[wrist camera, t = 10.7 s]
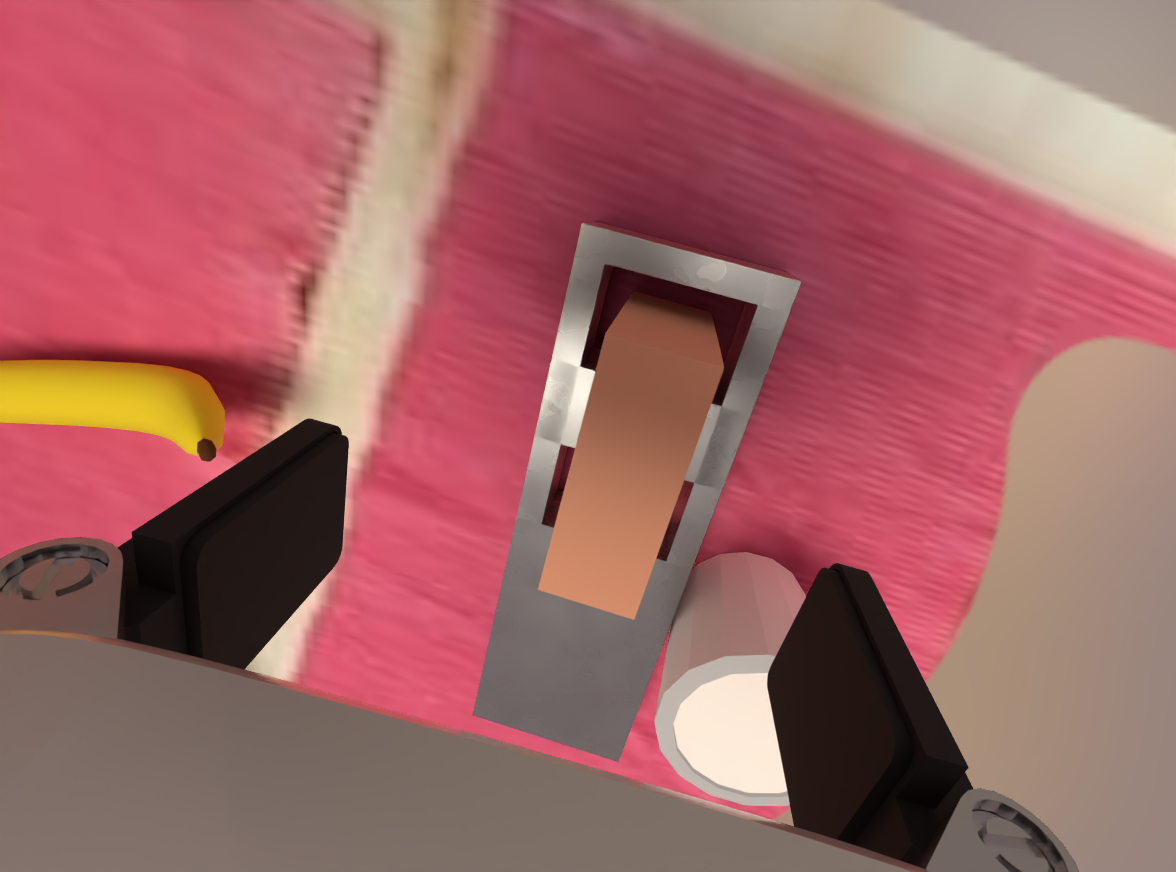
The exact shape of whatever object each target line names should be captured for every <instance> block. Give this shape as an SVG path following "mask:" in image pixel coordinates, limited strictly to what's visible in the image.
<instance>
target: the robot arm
mask: <svg viewBox="0 0 1176 872" xmlns="http://www.w3.org/2000/svg"><path fill="white" fill-rule="evenodd" d="M348 448H349V441H348V438H347V437H346V436H344V435H342V432H341V429H340V428H339V427H338V426H335V425H332V424H328V423H324V422H321V421H317V420H313V419H306V420H304V421H302V422H301V423H299V424H298V425H296V426H295V427H293V428H291V429H290V430H288V431H287V432H285V433H284V434H282V435H281V436H279V437H278V438H276V439H275V440H273V441H271V442H270V443H268V444H267V445H265V446H264V447H262V448H261V449H259V450H258V451H256V452H255V453H253V454H251V455H250V456H248V457H247V458H245V459H244V460H242V461H241V462H239V463H238V464H236V465H234V466H233V467H231V468H230V469H228V470H227V471H225V472H224V473H222V474H221V475H219V476H218V477H216V478H214V479H213V480H211V481H210V482H208V483H207V484H205V485H204V486H202V487H201V488H199V489H198V490H196V491H194V492H193V493H191V494H190V495H188V496H187V497H185V498H184V499H182V500H181V501H179V502H177V503H176V504H174V505H173V506H171V507H170V508H168V509H167V510H165V511H164V512H162V513H161V514H159V515H157V516H156V517H154V518H153V519H151V520H150V521H148V522H147V523H145V524H144V525H142V526H141V527H139V528H137V529H136V530H134V531H133V532H132V538H131V539H130V540H128V541H127V542H125V543H124V544H122V545H121V546H119V547H118V548H117V547H115V546H114V545H113V544H111V543H108V542H106V541H103V540H100V539H93V538H85V537H75V538H60V539H55V540H49V541H44V542H39V543H36V544H33V545H30V546H27V547H24V548H21V549H18V550H16V551H14V552H12V553H10V554H8V555H6V556H4V557H2V558H1V559H0V872H1079V870H1078V867H1077V865H1076V863H1075V861H1074V859H1073V858H1072V856H1071V855H1070V854H1069V852H1068V850H1067V849H1066V847H1065V846H1064V845H1063V843H1062V842H1061V841H1060V840H1059V839H1058V838H1057V836H1056V835H1055V834H1054V833H1053V832H1052V831H1051V830H1050V829H1049V828H1048V827H1047V826H1046V825H1045V824H1044V823H1043V822H1042V821H1041V820H1040V819H1038V818H1037V817H1036V816H1035V815H1034V814H1033V813H1031V812H1030V811H1029V810H1027V809H1026V808H1024V807H1023V806H1021V805H1020V804H1018V803H1017V802H1015V801H1014V800H1012V799H1010V798H1008V797H1006V796H1004V795H1002V794H999V793H997V792H995V791H990V790H985V789H981V788H978V789H973V787H972V785H971V783H970V781H969V779H968V778H967V775H966V773H965V771H966V770H967V769H968V765H967V764H966V762H965V759H964V758H963V756H962V754H961V752H960V750H959V748H958V746H957V744H956V742H955V740H954V738H953V736H952V734H951V732H950V730H949V728H948V726H947V724H946V722H945V720H944V718H943V716H942V715H941V713H940V711H939V709H938V707H937V705H936V703H935V701H934V699H933V697H932V695H931V693H930V691H929V689H928V687H927V685H926V683H925V681H924V679H923V677H922V675H921V673H920V671H919V670H918V668H917V666H916V664H915V662H914V660H913V658H912V656H911V654H910V652H909V650H908V648H907V646H906V644H905V642H904V640H903V638H902V636H901V634H900V632H899V630H898V628H897V626H896V625H895V623H894V621H893V619H892V617H891V615H890V613H889V611H888V609H887V607H886V605H885V603H884V601H883V599H882V597H881V595H880V593H879V591H878V589H877V587H876V585H875V583H874V581H873V580H872V578H871V576H870V574H869V573H868V572H866V571H864V570H860V569H856V568H853V567H849V566H845V565H842V564H838V563H836V564H833V565H832V566H831V567H830V568H829V569H828V568H822V569H821V570H820V571H819V573H818V575H817V576H816V578H815V580H814V582H813V584H812V586H811V588H810V590H809V592H808V594H807V596H806V598H805V600H804V602H803V604H802V606H801V608H800V610H799V612H798V614H797V616H796V617H795V619H794V621H793V623H792V625H791V627H790V629H789V631H788V633H787V635H786V637H785V639H784V641H783V643H782V645H781V647H780V649H779V651H778V653H777V655H776V657H775V659H774V660H773V662H772V664H771V666H770V669H769V672H768V677H767V689H768V694H769V699H770V704H771V709H772V714H773V720H774V725H775V730H776V735H777V740H778V746H779V751H780V756H781V761H782V766H783V771H784V777H785V782H786V787H787V792H788V797H789V802H790V808H791V812H792V818H793V823H794V826H790V825H787V824H784V823H780V822H777V821H774V820H771V819H768V818H765V817H761V816H758V815H754V814H751V813H747V812H744V811H741V810H737V809H734V808H730V807H727V806H723V805H720V804H717V803H713V802H710V801H706V800H703V799H699V798H696V797H693V796H689V795H686V794H682V793H679V792H675V791H672V790H669V789H665V788H662V787H658V786H655V785H651V784H648V783H645V782H641V781H638V780H634V779H631V778H627V777H624V776H621V775H617V774H614V773H610V772H607V771H603V770H600V769H596V768H593V767H589V766H586V765H582V764H579V763H575V762H572V761H568V760H565V759H561V758H558V757H554V756H551V755H547V754H544V753H540V752H537V751H533V750H530V749H526V748H523V747H519V746H516V745H512V744H509V743H505V742H502V741H498V740H495V739H491V738H488V737H484V736H481V735H477V734H474V733H470V732H467V731H463V730H460V729H456V728H452V727H449V726H445V725H442V724H438V723H435V722H431V721H428V720H424V719H421V718H417V717H414V716H410V715H406V714H403V713H399V712H396V711H392V710H388V709H385V708H381V707H378V706H374V705H371V704H367V703H363V702H360V701H356V700H353V699H349V698H345V697H342V696H338V695H335V694H331V693H327V692H324V691H320V690H317V689H313V688H310V687H306V686H302V685H299V684H295V683H292V682H288V681H284V680H281V679H277V678H274V677H270V676H266V675H262V674H259V673H255V672H251V671H247V670H244V669H245V668H246V667H247V666H248V665H249V664H250V662H251V661H252V660H253V659H254V658H255V657H256V656H257V654H258V653H259V652H260V651H261V650H262V649H263V648H264V646H265V645H266V644H267V643H268V642H269V641H270V640H271V638H272V637H273V636H274V635H275V634H276V633H277V632H278V630H279V629H280V628H281V627H282V626H283V625H284V624H285V622H286V621H287V620H288V619H289V618H290V617H291V616H292V614H293V613H294V612H295V611H296V610H297V609H298V608H299V606H300V605H301V604H302V603H303V602H304V601H305V600H306V598H307V597H308V596H309V595H310V594H311V593H312V592H313V590H314V589H315V588H316V587H317V586H318V585H319V584H320V582H321V581H322V580H323V579H324V578H325V577H326V576H327V574H328V573H329V572H330V571H331V570H332V569H333V567H334V566H335V565H336V563H337V562H338V560H339V557H340V555H341V551H342V544H343V528H344V512H345V496H346V480H347V464H348Z"/></svg>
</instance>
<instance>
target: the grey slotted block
mask: <svg viewBox="0 0 1176 872" xmlns="http://www.w3.org/2000/svg"><path fill="white" fill-rule="evenodd" d="M613 266H616V267H620V268H623V269H627V270H631V271H635V272H638V273H642V274H646V275H649V276H653V277H657V278H660V279H664V280H668V281H671V282H675V283H679V284H683V285H686V286H690V287H694V288H697V289H701V290H705V291H708V292H712V293H716V294H719V295H723V296H727V297H731V298H734V299H738V300H742V301H745V304H744V307H743V310H742V313H741V316H740V319H739V322H738V325H737V327H736V330H735V333H734V336H733V339H732V342H731V345H730V348H729V350H728V353H727V356H726V359H725V362H724V370H723V373H722V376H721V379H720V381H719V384H718V387H717V390H716V393H715V395H714V398H713V401H712V404H711V407H710V409H709V412H708V415H707V418H706V420H705V423H704V426H703V429H702V432H701V434H700V437H699V440H698V443H697V446H696V448H695V451H694V454H693V457H692V460H691V462H690V465H689V468H688V471H687V474H686V476H685V479H684V482H683V485H682V488H681V490H680V493H679V496H678V499H677V502H676V504H675V507H674V510H673V513H672V516H671V518H670V521H669V524H668V527H667V530H666V532H665V535H664V538H663V541H662V544H661V546H660V549H659V552H658V555H657V558H656V560H655V563H654V566H653V569H652V572H651V574H650V577H649V580H648V583H647V586H646V588H645V591H644V594H643V597H642V600H641V602H640V605H639V608H638V611H637V614H636V616H635V619H634V620H633V619H630V618H627V617H623V616H620V615H617V614H614V613H611V612H607V611H604V610H601V609H598V608H595V607H591V606H588V605H585V604H582V603H579V602H575V601H572V600H569V599H566V598H563V597H559V596H556V595H553V594H550V593H547V592H543V591H540V590H538V587H539V583H540V579H541V576H542V572H543V568H544V564H545V560H546V557H547V553H548V549H549V545H550V542H551V538H552V534H553V530H554V526H555V523H556V519H557V515H558V511H559V507H560V504H561V500H562V496H563V492H564V491H561V490H558V485H559V481H560V477H561V473H562V469H563V465H564V461H565V457H566V453H567V449H568V446H569V447H573V448H575V447H576V443H577V439H578V435H579V432H580V428H581V424H582V420H583V416H584V413H585V409H586V405H587V401H588V397H589V394H590V390H591V386H592V382H593V378H594V375H595V371H596V367H597V363H598V359H599V356H600V352H601V349H598V348H594V347H593V345H594V341H595V337H596V333H597V329H598V325H599V321H600V317H601V313H602V309H603V305H604V301H605V297H606V293H607V289H608V285H609V281H610V277H611V273H612V269H613ZM800 284H801V281H800V280H798V279H797V278H795V277H794V276H792V275H790V274H789V273H787V272H785V271H781V270H778V269H774V268H770V267H766V266H763V265H759V264H755V263H751V262H748V261H744V260H740V259H736V258H733V257H729V256H725V255H721V254H718V253H714V252H710V251H706V250H703V249H699V248H695V247H691V246H688V245H684V244H680V243H676V242H673V241H669V240H665V239H661V238H658V237H654V236H650V235H646V234H643V233H639V232H635V231H631V230H628V229H624V228H620V227H616V226H613V225H609V224H605V223H601V222H598V221H593V222H585V223H582V225H581V229H580V234H579V238H578V243H577V247H576V252H575V256H574V261H573V265H572V270H571V274H570V279H569V283H568V288H567V292H566V297H565V301H564V306H563V310H562V315H561V319H560V324H559V328H558V333H557V337H556V342H555V346H554V351H553V355H552V360H551V364H550V369H549V373H548V378H547V382H546V387H545V391H544V396H543V400H542V405H541V409H540V414H539V418H538V423H537V427H536V432H535V436H534V441H533V445H532V450H531V454H530V459H529V463H528V468H527V472H526V477H525V481H524V486H523V491H522V495H521V500H520V504H519V509H518V513H517V518H516V522H515V527H514V531H513V536H512V540H511V545H510V549H509V554H508V558H507V563H506V567H505V572H504V576H503V581H502V585H501V590H500V594H499V599H498V603H497V608H496V612H495V617H494V621H493V626H492V630H491V635H490V639H489V644H488V648H487V653H486V657H485V662H484V666H483V671H482V675H481V680H480V684H479V689H478V693H477V698H476V702H475V707H474V711H473V715H474V716H477V717H480V718H483V719H486V720H489V721H492V722H495V723H499V724H502V725H505V726H508V727H511V728H514V729H517V730H520V731H524V732H527V733H530V734H533V735H536V736H539V737H542V738H545V739H548V740H552V741H555V742H558V743H561V744H564V745H567V746H570V747H573V748H576V749H580V750H583V751H586V752H589V753H592V754H595V755H598V756H601V757H604V758H608V759H611V760H614V761H617V762H618V761H619V759H620V756H621V753H622V751H623V748H624V745H625V743H626V740H627V738H628V735H629V732H630V730H631V727H632V724H633V722H634V719H635V717H636V714H637V711H638V709H639V706H640V704H641V701H642V698H643V696H644V693H645V690H646V688H647V685H648V683H649V680H650V677H651V675H652V672H653V669H654V667H655V664H656V662H657V659H658V656H659V654H660V651H661V649H662V646H663V643H664V641H665V638H666V635H667V633H668V630H669V628H670V625H671V622H672V620H673V617H674V614H675V612H676V609H677V607H678V604H679V601H680V599H681V596H682V593H683V591H684V588H685V586H686V583H687V580H688V578H689V575H690V573H691V570H692V567H693V565H694V562H695V559H696V557H697V554H698V552H699V549H700V546H701V544H702V541H703V538H704V536H705V533H706V531H707V528H708V525H709V523H710V520H711V518H712V515H713V512H714V510H715V507H716V504H717V502H718V499H719V497H720V494H721V491H722V489H723V486H724V483H725V481H726V478H727V476H728V473H729V470H730V468H731V465H732V463H733V460H734V457H735V455H736V452H737V449H738V447H739V444H740V442H741V439H742V436H743V434H744V431H745V428H746V426H747V423H748V421H749V418H750V415H751V413H752V410H753V407H754V405H755V402H756V400H757V397H758V394H759V392H760V389H761V387H762V384H763V381H764V379H765V376H766V373H767V371H768V368H769V366H770V363H771V360H772V358H773V355H774V352H775V350H776V347H777V345H778V342H779V339H780V337H781V334H782V332H783V329H784V326H785V324H786V321H787V318H788V316H789V313H790V311H791V308H792V305H793V303H794V300H795V297H796V295H797V292H798V290H799V287H800Z"/></svg>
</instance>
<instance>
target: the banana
mask: <svg viewBox="0 0 1176 872" xmlns="http://www.w3.org/2000/svg"><path fill="white" fill-rule="evenodd" d="M0 422H2V423H30V424H55V425H76V426H91V427H105V428H114V429H124V430H133V431H139V432H145V433H150V434H155V435H158V436H161V437H165V438H168V439H169V440H171V441H173V442H175V443H176V444H177V445H179V446H180V447H181V448H182V449H183V450H184V451H186V452H187V453H188V454H192V455H197V456H200V458H201V460H203V461H209V462H210V461H211V460H212V459H214V458H215V457H216V451H217V450H218V449H220V447H221V446H222V444H223V437H224V425H225V411H224V408H223V406H222V404H221V402H220V400H219V399H218V397H217V395H216V394H215V392H214V390H213V389H212V387H211V385H210V384H209V382H208V381H207V380H205V379H204V378H203V377H202V376H200V375H198V374H195V373H193V372H190V371H188V370H184V369H179V368H174V367H170V366H162V365H153V364H143V363H125V362H104V361H83V360H9V361H0Z"/></svg>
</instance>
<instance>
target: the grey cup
mask: <svg viewBox="0 0 1176 872" xmlns="http://www.w3.org/2000/svg"><path fill="white" fill-rule="evenodd" d="M805 598H806V595H805V593H804V591H803V590H802V588H801V586H800V585H799V583H798V582H797V580H796V578H795V577H794V575H793V573H792V572H790V571H789V570H788V569H786V568H785V567H783V566H782V565H780V564H779V563H777V562H776V561H775V560H773V559H772V558H768V557H764V556H760V555H757V554H753V553H749V552H737V553H724V554H719V555H716V556H714V557H712V558H709V559H707V560H705V561H703V562H700V563H698V564H697V565H696V566H695V567H694V568H693V569H692V570H691V573H690V575H689V578H688V580H687V583H686V586H685V588H684V591H683V593H682V596H681V599H680V601H679V604H678V607H677V609H676V612H675V614H674V617H673V620H672V625H671V630H670V636H669V641H668V647H667V653H666V658H665V664H664V670H663V675H662V681H661V686H660V692H659V698H658V703H657V709H656V714H655V720H654V722H655V727H656V732H657V737H658V742H659V747H660V751H661V752H662V753H663V755H664V756H665V757H666V758H667V760H668V761H669V762H670V764H671V765H672V766H673V768H674V769H675V770H676V772H677V773H678V774H679V776H681V777H683V778H684V779H686V780H687V781H689V782H690V783H692V784H693V785H695V786H696V787H698V788H700V789H701V790H703V791H704V792H706V793H707V794H709V795H712V796H715V797H719V798H722V799H726V800H729V801H732V802H736V803H739V804H743V805H751V806H787V805H790V802H789V797H788V792H787V787H786V782H785V777H784V771H783V766H782V761H781V756H780V751H779V746H778V740H777V735H776V730H775V725H774V720H773V714H772V709H771V704H770V699H769V694H768V689H767V677H768V672H769V669H770V666H771V664H772V662H773V660H774V659H775V657H776V655H777V653H778V651H779V649H780V647H781V645H782V643H783V641H784V639H785V637H786V635H787V633H788V631H789V629H790V627H791V625H792V623H793V621H794V619H795V617H796V616H797V614H798V612H799V610H800V608H801V606H802V604H803V602H804V600H805Z"/></svg>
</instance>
